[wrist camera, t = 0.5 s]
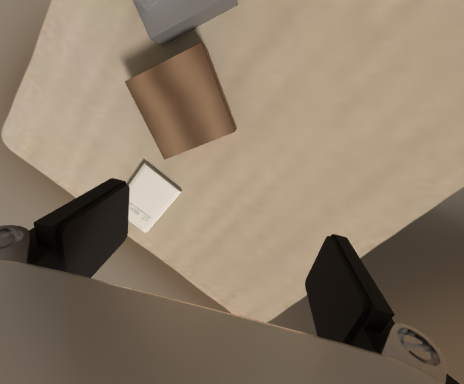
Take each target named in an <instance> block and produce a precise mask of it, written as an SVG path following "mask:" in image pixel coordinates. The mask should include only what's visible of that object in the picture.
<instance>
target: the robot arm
mask: <svg viewBox="0 0 464 384" xmlns="http://www.w3.org/2000/svg"><path fill="white" fill-rule="evenodd" d="M129 192H130V188H129V186H128V185H127V184H126V182H125V181H122V180H118V179H114V178H111V179H109V180H108V181H106V182H104V183H102V184H100V185H99V186H97V187H95V188H93V189H92V190H90V191H88V192H86V193H85V194H83V195H81V196H79V197H78V198H76V199H74V200H72V201H71V202H69V203H67V204H65V205H64V206H62V207H60V208H58V209H56V210H55V211H53V212H51V213H49V214H48V215H46V216H44V217H43V218H41V219H39V220H37V221H35V222H34V228H33V229H31V230H27V229H26V228H24V227H21V226H15V225H6V226H5V225H4V226H0V384H459V383H458V382H457V381H455V380H454V379H453V378H452V377H450V376H449V375H448V374H447V364H446V360H445V358H444V356H443V354H442V353H441V351H440V350H439V349H438V348H437V346H436V345H435V344H434V343H433V342H432V341H431V340H430V339H429V338H427V337H426V336H425V335H424V334H422V333H421V332H419V331H418V330H416V329H414V328H413V327H410V326H408V325H405V324H400V323H398V324H395V323H394V321H393V320H392V317H393V316H394V313H393V311H392V309H391V308H390V306H389V305H388V303H387V302H386V300H385V298H384V297H383V295H382V293H381V292H380V290H379V289H378V287H377V285H376V284H375V282H374V281H373V279H372V277H371V276H370V274H369V273H368V271H367V269H366V268H365V266H364V265H363V263H362V261H361V260H360V258H359V256H358V255H357V253H356V252H355V250H354V248H353V247H352V245H351V244H350V242H349V240H348V239H347V238H346V237H343V236H339V235H335V234H332V235H331V236H327V237H326V239H325V241H324V243H323V245H322V247H321V249H320V251H319V253H318V256H317V258H316V260H315V262H314V264H313V266H312V268H311V270H310V272H309V274H308V276H307V278H306V282H305V287H306V291H307V295H308V299H309V303H310V308H311V312H312V316H313V320H314V324H315V327H316V331H317V336H314V335H310V334H306V333H303V332H299V331H295V330H291V329H287V328H283V327H280V326H276V325H272V324H268V323H265V322H261V321H257V320H253V319H249V318H246V317H242V316H238V315H234V314H230V313H226V312H222V311H218V310H215V309H211V308H207V307H203V306H199V305H195V304H191V303H187V302H183V301H179V300H175V299H172V298H167V297H164V296H160V295H155V294H152V293H147V292H144V291H140V290H136V289H131V288H128V287H124V286H120V285H116V284H112V283H108V282H104V281H100V280H96V279H92V278H91V277H92V276H93V275H94V274H95V273H96V272H97V270H98V269H99V268H100V267H101V266H102V265H103V264H104V263H105V262H106V261H107V260H108V258H109V257H110V256H111V255H112V254H113V253H114V252H115V251H116V249H118V247H119V246H120V245H121V244H122V243H123V242H124V241H125V239H126V237H127V234H128V214H129Z"/></svg>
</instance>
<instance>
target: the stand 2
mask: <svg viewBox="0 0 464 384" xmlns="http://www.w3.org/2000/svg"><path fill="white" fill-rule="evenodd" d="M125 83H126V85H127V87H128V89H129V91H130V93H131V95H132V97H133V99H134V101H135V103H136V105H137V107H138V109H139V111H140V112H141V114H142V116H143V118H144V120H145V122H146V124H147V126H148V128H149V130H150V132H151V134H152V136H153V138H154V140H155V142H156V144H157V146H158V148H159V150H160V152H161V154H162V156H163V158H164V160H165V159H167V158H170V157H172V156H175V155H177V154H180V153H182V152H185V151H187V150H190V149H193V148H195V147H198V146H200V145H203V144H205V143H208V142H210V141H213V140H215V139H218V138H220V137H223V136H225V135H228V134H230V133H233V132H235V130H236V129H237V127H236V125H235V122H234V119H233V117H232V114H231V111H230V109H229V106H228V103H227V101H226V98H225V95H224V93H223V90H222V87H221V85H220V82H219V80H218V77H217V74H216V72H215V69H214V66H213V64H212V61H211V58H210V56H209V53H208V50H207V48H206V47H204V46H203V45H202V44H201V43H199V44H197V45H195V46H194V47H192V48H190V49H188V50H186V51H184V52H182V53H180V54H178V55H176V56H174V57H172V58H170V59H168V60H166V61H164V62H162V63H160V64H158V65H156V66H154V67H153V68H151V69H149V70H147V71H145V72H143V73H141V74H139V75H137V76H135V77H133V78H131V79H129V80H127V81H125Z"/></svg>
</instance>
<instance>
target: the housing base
mask: <svg viewBox="0 0 464 384" xmlns="http://www.w3.org/2000/svg"><path fill="white" fill-rule="evenodd" d="M134 1H135V2H137V3H138V4H139V5H141V6H142V7H143V8H144V9H147V8H148V7H150V6H152V5H153V4H155V3H157V2H159V1H160V0H134Z"/></svg>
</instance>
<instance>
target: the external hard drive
mask: <svg viewBox="0 0 464 384" xmlns="http://www.w3.org/2000/svg"><path fill="white" fill-rule="evenodd" d="M128 186H129V188H130V192H129V214H128V221H129V222H131V223H132V224H133V225H135V226H136V227H138V228H139V229H140V230H142V231H143V232H145V233H147V231H148V230H149V229H150V228H151V227H152V226H153V224H154V223H155V222H156V221H157V220H158V219H159V217H160V216H161V215H162V214H163V213H164V212H165V210H166V209H167V208H168V207H169V206H170V205H171V203H172V202H173V201H174V200H175V199H176V197H177V196H178V195H179V194H180V193H181V191H182V190H181V189H180V188H179V187H177V186H176V185H175V184H174V183H172V182H171V181H170V180H169V179H167V178H166V177H165V176H164V175H162V174H161V173H160V172H159V171H157V170H156V169H155V168H154V167H152V166H151V165H150V164H149V163H147V162H145V163H144V164H143V166H142V167H141V168H140V170H139V171H138V173H137V174H136V175H135V177H134V178H133V180H132V181H131V182H130V184H129V185H128Z"/></svg>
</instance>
